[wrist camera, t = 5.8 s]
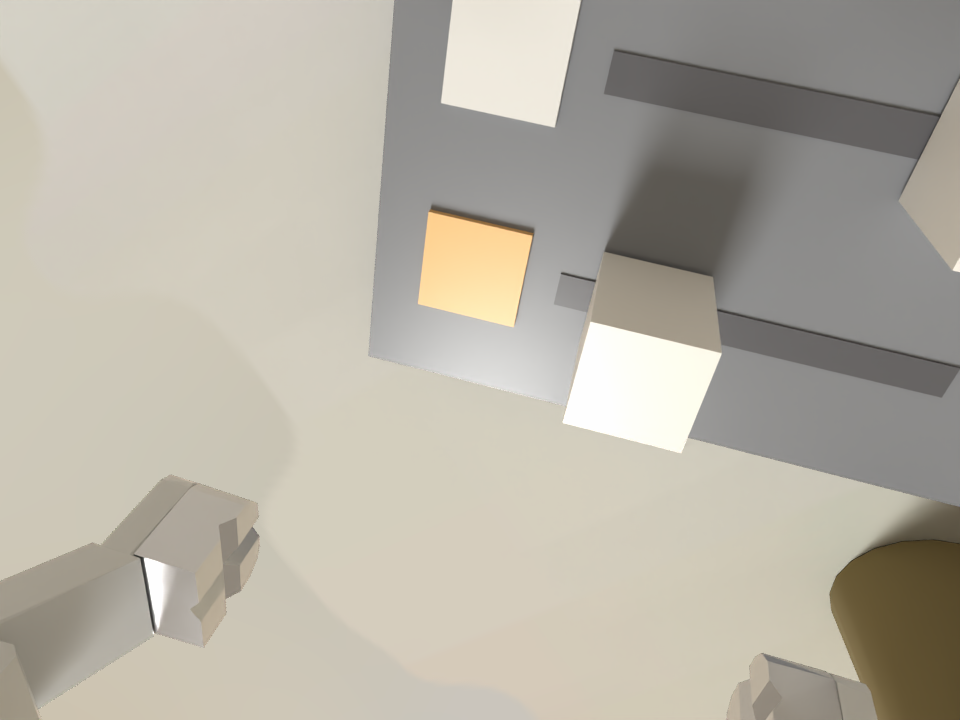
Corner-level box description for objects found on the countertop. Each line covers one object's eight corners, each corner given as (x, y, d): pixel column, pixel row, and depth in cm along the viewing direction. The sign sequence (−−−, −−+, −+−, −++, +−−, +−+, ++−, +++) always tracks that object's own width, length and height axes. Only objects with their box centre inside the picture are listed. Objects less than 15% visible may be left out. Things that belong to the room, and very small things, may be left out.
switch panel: (1619, -400, 12) (1790, -454, 10) (978, 474, 23) (1004, 522, 21) (465, -539, 14) (435, -605, 12) (388, 326, 25) (366, 359, 23)
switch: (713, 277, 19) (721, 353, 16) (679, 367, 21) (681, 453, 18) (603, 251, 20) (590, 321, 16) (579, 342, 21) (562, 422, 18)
